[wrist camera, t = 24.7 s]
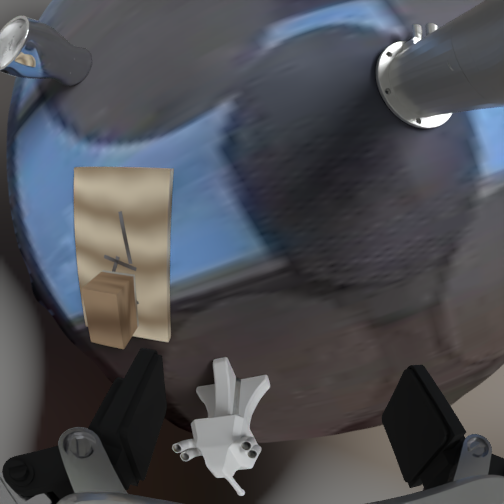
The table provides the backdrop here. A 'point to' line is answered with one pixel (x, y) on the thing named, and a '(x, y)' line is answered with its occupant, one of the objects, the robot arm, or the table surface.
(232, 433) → the toy gun turret
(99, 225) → the board
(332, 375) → the table surface
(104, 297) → the block
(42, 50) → the beer glass
